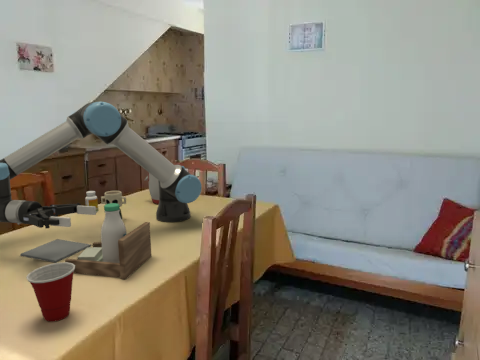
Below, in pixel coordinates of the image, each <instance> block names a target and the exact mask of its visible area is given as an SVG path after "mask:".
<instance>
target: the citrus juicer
mask: <svg viewBox="0 0 480 360" xmlns="http://www.w3.org/2000/svg"><path fill="white" fill-rule="evenodd" d="M144 181H148V191H149V195H150V198H151V200H152V202H153V203H154V204H156V205H159V182H158V179H156V178H155V177H154V176H153V175H151V174H150V173H149V172H148V171H147V175H146V177H145V178H144Z"/></svg>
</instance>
